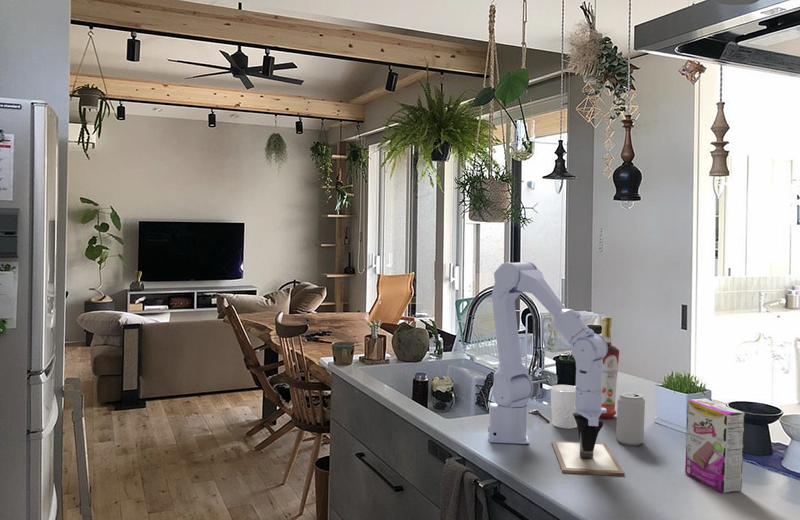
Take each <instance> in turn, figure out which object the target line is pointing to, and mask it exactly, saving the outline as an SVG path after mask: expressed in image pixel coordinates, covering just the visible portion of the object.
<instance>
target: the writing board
mask: <svg viewBox="0 0 800 520" xmlns="http://www.w3.org/2000/svg"><path fill="white" fill-rule="evenodd" d="M550 444H551V446H552V449H553V452H554V454H555V457H556V460H557V463H558V465H559V467H560V470H561V473H565V474H580V475H581V474H582V475H600V476H616V477H617V476H618V477H625V474H626V473H625V472H624V470H623V468H622V467H621V465H620V464H619V462H618V460H617V459H616V457H615V455H614V453H612V450H610V448H609V446H608V445H607V443H595V447H594V451H593V458H592V459H584V458H581V457H580V441H579V442H577V441H576V442H575V441H556V440H555V441H554V440H552V441H551V443H550Z"/></svg>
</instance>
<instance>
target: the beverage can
mask: <svg viewBox="0 0 800 520" xmlns="http://www.w3.org/2000/svg"><path fill="white" fill-rule="evenodd" d="M618 395H619V396H618V397H617V403H616V405H617V406H616V433H615V434H616V440H617V441H618V442H619V443H620V444H622V445H626V446H632V447H633V446H640V445H641V444H642V443H644V442H645V439H644V438H645V409H646V408H645V407H646V400H645V398H644V395H643V394H641V393H639V392H634V391H633V392H632V391H623V392H619V393H618Z"/></svg>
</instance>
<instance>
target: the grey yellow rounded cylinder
mask: <svg viewBox="0 0 800 520" xmlns="http://www.w3.org/2000/svg"><path fill="white" fill-rule="evenodd" d="M579 443H580V457H581V458H584V459H592V458H593V452H590V451H583V447H582V440H581V433H580V440H579ZM593 451H594V450H593Z"/></svg>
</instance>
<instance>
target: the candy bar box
mask: <svg viewBox="0 0 800 520" xmlns="http://www.w3.org/2000/svg"><path fill="white" fill-rule="evenodd" d="M686 412H687V414H686V415H687V417H686V439H685V440H686V443H685V448H686V449H685V464H684V465H685V466H684V467H685V468H684V470H685V471H684V472H685V473H684V474H686V475H688V476H690V477H692V478H693V479H695V480H696V481H697V480H698V481H699V482H701V483H703V484H705V485H707V486H709V487H710V488H712V489H714V490H716V491H717V492H720V493H722V494H731V493H735V492H738V493H739V492H742V486H743V485H742V484H743V483H742V481H743V479H742V478H743V461H744V460H743V459H744V456H743V455H744V438H745V437H744V436H745V435H744V433H745V415H746V414H745V412H744V411H740V410H738V409H736V408H732V407H730V406H727V405H724V404H722V403H719V402H716V401H714V400H712V399H711V400H710V399H708V398H691V399H688V400H687V410H686Z"/></svg>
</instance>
